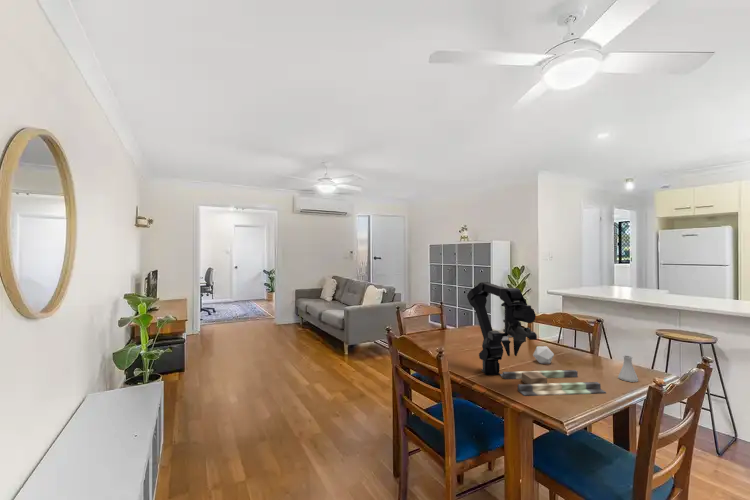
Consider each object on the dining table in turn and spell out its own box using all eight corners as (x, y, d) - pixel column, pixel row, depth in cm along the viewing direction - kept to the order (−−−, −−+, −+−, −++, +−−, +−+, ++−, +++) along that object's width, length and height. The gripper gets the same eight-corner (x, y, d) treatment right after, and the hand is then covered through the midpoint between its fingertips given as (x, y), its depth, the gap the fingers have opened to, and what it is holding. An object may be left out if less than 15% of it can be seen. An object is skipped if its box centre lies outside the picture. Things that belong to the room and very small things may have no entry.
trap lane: (524, 395, 131) (524, 389, 131) (499, 375, 153) (499, 369, 153) (606, 393, 133) (606, 386, 133) (570, 373, 155) (570, 367, 155)
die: (552, 368, 164) (559, 350, 167) (535, 358, 165) (542, 340, 168) (544, 368, 172) (551, 351, 175) (528, 359, 173) (535, 342, 176)
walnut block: (531, 388, 139) (531, 378, 139) (521, 381, 146) (521, 372, 146) (547, 387, 140) (547, 377, 140) (537, 381, 147) (537, 371, 147)
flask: (632, 383, 143) (632, 359, 143) (614, 378, 149) (614, 355, 149) (642, 380, 146) (641, 357, 146) (623, 375, 153) (623, 352, 153)
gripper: (498, 322, 134) (498, 362, 134) (544, 322, 135) (544, 361, 135) (487, 317, 145) (487, 354, 145) (529, 316, 146) (529, 353, 146)
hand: (512, 355), depth 142 cm, fingers open, 3 cm apart
